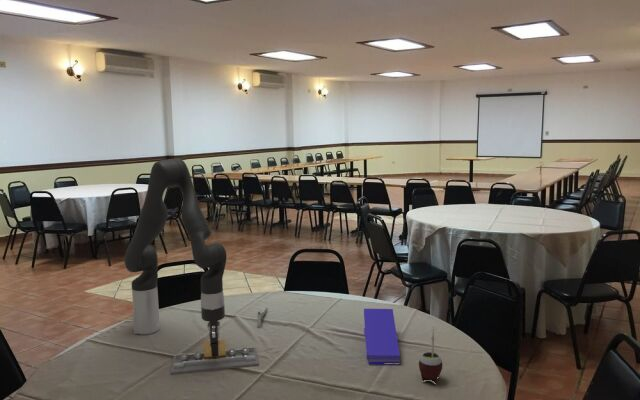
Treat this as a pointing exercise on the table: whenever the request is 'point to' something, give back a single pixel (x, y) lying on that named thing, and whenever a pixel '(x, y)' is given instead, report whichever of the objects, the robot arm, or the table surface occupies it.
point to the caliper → (261, 316)
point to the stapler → (381, 336)
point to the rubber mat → (214, 365)
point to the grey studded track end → (234, 358)
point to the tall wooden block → (220, 350)
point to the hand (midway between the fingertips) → (215, 353)
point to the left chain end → (197, 361)
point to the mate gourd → (430, 364)
